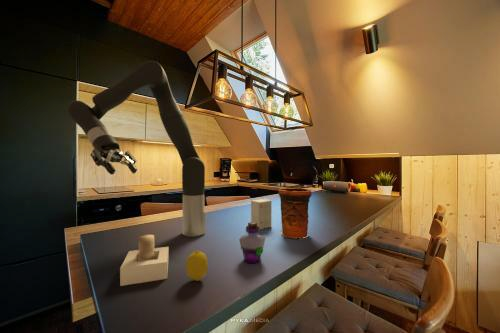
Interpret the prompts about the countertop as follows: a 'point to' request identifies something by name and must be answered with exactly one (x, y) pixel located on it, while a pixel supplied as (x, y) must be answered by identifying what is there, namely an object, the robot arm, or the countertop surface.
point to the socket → (144, 267)
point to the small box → (261, 213)
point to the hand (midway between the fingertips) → (124, 172)
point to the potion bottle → (252, 244)
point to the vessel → (294, 211)
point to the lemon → (197, 265)
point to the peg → (146, 247)
